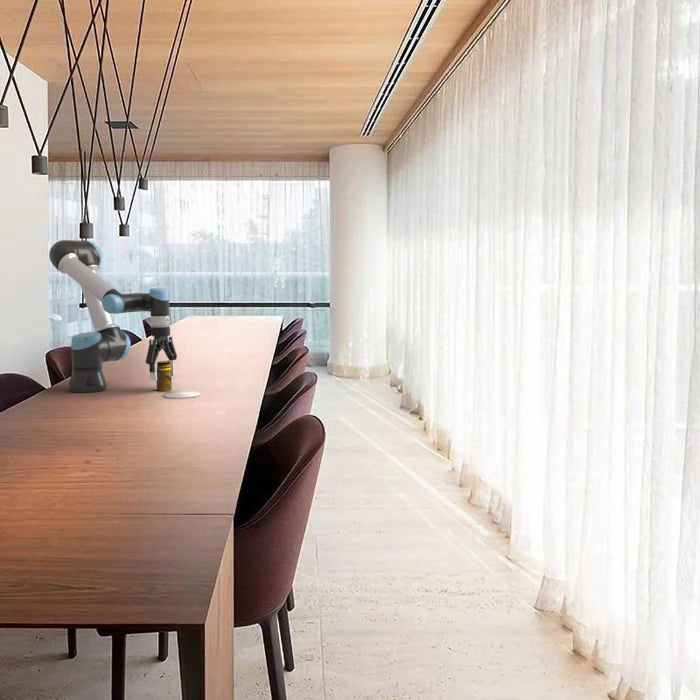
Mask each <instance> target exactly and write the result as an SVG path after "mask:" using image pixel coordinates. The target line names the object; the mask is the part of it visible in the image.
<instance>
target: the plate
mask: <svg viewBox="0 0 700 700" xmlns="http://www.w3.org/2000/svg"><path fill="white" fill-rule="evenodd" d="M163 393H164V394H163V396H164V398H167V399H172V400H173V399H177V400H180V399H183V400H184V399H185V400H186V399H193V398H198V397H200V396H201V391H198V390H191V389H190V390H189V389H181V390H180V389H179V390H175V391H168V392H163Z"/></svg>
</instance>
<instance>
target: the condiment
mask: <svg viewBox="0 0 700 700" xmlns="http://www.w3.org/2000/svg"><path fill="white" fill-rule="evenodd" d="M156 368H157V380H156V389H149V391H150V392H152V393H155V394H156V393H166V392H170V391H176V390H174V389H172V385H173V383H172V376H171V368H170V362H169V361H167V360H161V361H157V362H156Z"/></svg>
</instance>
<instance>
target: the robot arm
mask: <svg viewBox="0 0 700 700" xmlns="http://www.w3.org/2000/svg"><path fill="white" fill-rule="evenodd" d="M48 256H49V260H50V264H51V265H52V266H53V267H54V268H55V269H56V270H57V271H59V272H60V273H61V274H65V275H67V276H69V277H70V278H71V279H72V280H74V281H75V282H76V283H77V284H78V285H79V286H80V288H81V292H82V294H83V297H84V301H85V305H86V307H87V310H88V313H89V316H90V320H91V323H92V326H93V329H94V330H93V331H89V332H88V331H87V332H81V333H77V334H75V335H73V336H72V338H71V341H70V349H71V366H72V367H71V368H72V369H71V375H70V379H69V383H68V385H67V386H68V391H69V392H72V393H95V392H102V391H106V390H108V383H107V381H106V378H105V375H104V372H103V363H106V362H107V363H109V362H116V361H119V360H123V359H124V358H126V357H127V356H128V355H129V353H130V351H131V347H132V346H131V339H130V337H129V335H128V334H126V333H125V332H122V330H121V328H120V327H121V326H119V325H118V324H116V323H115V321H114V318H113V315H112V314H114V315H118V314H124V313H125V314H126V313H138V312H149V313H150V326H151V328H150V331H151V332H150V333H151V334H150V335H151V336H152V337H153V339H151V338H150V339H149V341H148V350H147V354H146V358H145V363H146V365H148V366H149V380H150V381H157V362H156V361H157V360H158V356H159V354H160V352H161V351H162V350H163V352H164V354H165V356H166V357H167V360H166V361H169V362H170V368H171V377H172V376H173V377H175V361H177V358H178V355H177V352H176V348H175V344H174V342H173V336H170V335H171V327H170V324H171V323H170V320H171V319H170V295H169V290H168V289H167V288H163V287H162V288H150V289H149V293H146V292H145V293H144V292H141V293H140V292H132V293H121V292H119V291H118V290H117V289H115V288H114V287H113V286H112V285H111V284H110V283H108V282H107V281H105V279H103V278H102V277H100V275H99V271H100V268H101V266H100V265H101V262H102V259H103V255H102V251H101V249H100V247H99V246H98V245H97V243H95V242H93V241H90V240H83V239H80V240H77V239H75V240H67V239H63V240H62V239H61V240H58V241H56V242H55V243H54V244H53V245H52V246H51V247H50V248H49V253H48Z"/></svg>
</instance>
